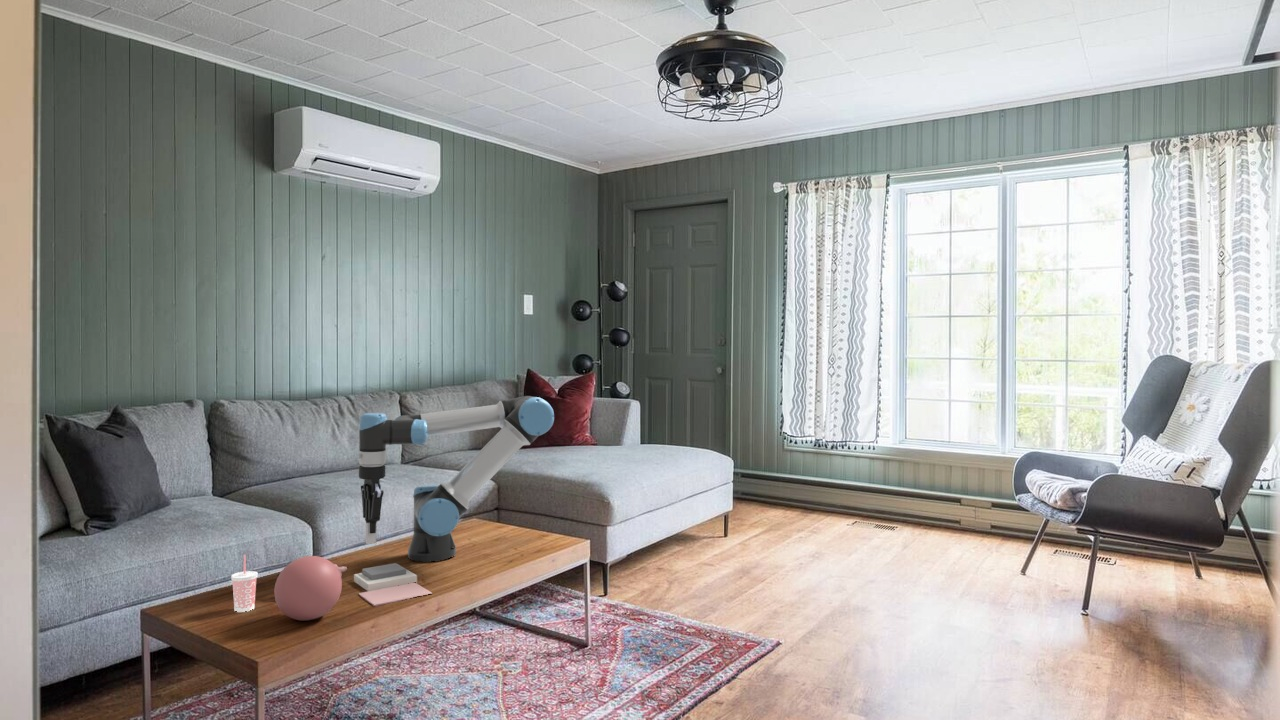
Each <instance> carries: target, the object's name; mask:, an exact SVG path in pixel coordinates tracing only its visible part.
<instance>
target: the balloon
mask: <svg viewBox="0 0 1280 720" xmlns="http://www.w3.org/2000/svg"><path fill="white" fill-rule="evenodd" d="M347 570H348V568H347V566H338V564H336V563H333V562H332V561H330V560H328V559H327V558H324V557H322V556H318V555H307V556H302V557H299V558H297V559H295V560H292V561H291V562H290V563H288V564H287V565H286V566H285V567H284V568H282V570H281V572H279V573H280V574H279V573H278V574H279V576H277V578H276V581H275V583H276V584H275V583H274V588H273V590H274V591H273V592H274V601H275V603H276V605H277V607H278V609H279V610H280V611H281V612H282V613H283V614H284V615H285V616H286V617H288V618H290V619H293V620H297V621H312V620H316V619H319V618H321V617H323V616H324V615H326V614H328V613H329V612H330V611H331V610H332V609H333V608H334V607H335V605H336V604H337V603H338V600H340V599H339V598H340V596H341V593H342V588H343V587H342V586H343V580H342V575H343V574H342V573H344V572H346V571H347Z"/></svg>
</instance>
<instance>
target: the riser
mask: <svg viewBox="0 0 1280 720" xmlns="http://www.w3.org/2000/svg"><path fill="white" fill-rule="evenodd" d="M405 569H406V574H405V575H399V576H394V577H389V578H383V579H378V580H370V579H369V578H367V577H366V576H364V575H363V574H362V572H359V573H355V574H354V573H353V582H354V583H355V584H357V585H358V586H360V587H361V588H363V589H364V590H365V591H366V592H368V591H373V590H378V589H383V588H389V587H394V586H398V585H404V584H408V583H413V582H416V583H418V574H415V573H414V572H412V571H410V570H408V569H407V568H405Z"/></svg>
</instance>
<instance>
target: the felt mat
mask: <svg viewBox="0 0 1280 720" xmlns="http://www.w3.org/2000/svg"><path fill="white" fill-rule="evenodd" d="M428 594H432V595H433V592H431V591H430V590H428V589H427V588H424V586H421V585H420V584H419V583H418V582H416V583H409V584H404V585H399V586H394V587H389V588H383V589H378V590H373V591H364V592H359V593H358V596H360V598H362V599H364V600H365V601H366V602H367V603H369V604H370V605H372V606H373V607H378V606H382V605H388V604H392V603H397V602H402V600H403V601H406V600H405V599H407V600H411V599H410V598H412V599H414V598H413V597H417V596H422V597H424V596H423V595H427V596H429V595H428ZM417 598H418V597H417Z"/></svg>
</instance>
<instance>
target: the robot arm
mask: <svg viewBox="0 0 1280 720" xmlns="http://www.w3.org/2000/svg"><path fill="white" fill-rule="evenodd" d="M554 422H555V413H554V409H553V407H552V406H551V404H550V403H549V402H548V401H547V400H545V399H543V398H541V397H540V396H539V397H537V396H532V395H523V396H520V397H516V398H509V399H505V400H499V401H498V402H497V403H496V404H490V405H483V406H476V407H467V408H459V409H451V410H445V411H444V410H443V411H436V412H435V411H434V412H429V413H421V414H411V415H407V414H404V415H400V416H398V417H396V418H395V419H388V418H387V415H386V413H381V412H370V413H363V414H361V415H360V419H359V440H358V441H359V442H358V443H359V446H358V447H359V450H358V451H359V454H357V458H358V460H359V461H358V464H359V465H360V466H358V478H359V479H361V480H363V485H360V492H361V503H362V506H361V507H362V517H363V519H364V520H365V544H366V545H372V544H373V545H374V544H377V527H378V526H377V525H378V523H377V522H379V521H381V520H380V519H381V512H382V503H383V496H384V490H383V489H382V490H381V486H382V485H381V481H380V480H381V479H384V478H385V477H386V465H385V464H386V463H387V458H386V457H387V448H386V446H388V445H389V446H393V445H414V446H415V445H424V444H426V443H427V440H428V437H435V436H442V435H450V434H457V433H464V432H472V431H478V430H479V431H481V430H485V429H487V430H488V429H493V428H500V430H499V431H498V432H497V433H496V434H495V435H493V437H492V438H491V439H490V440H489V441H488V442H487V443H486V444H485V445H484V446H483V447H482V448H481V449H480V450H479V451H478V453H477V452H476V454H475V456H473V457H472V458H471V459H470V461H469V462H467V464H465V466H463V467H462V469H461V470H460V471H458V472H457V474H456V475H455V476H454V477H453V478H452V479H451V480H450V481H449V482H442V483H441V482H440V484H439V485H438V484H436V485H420V486H416V487H415V488H414V490H413V496H412V498H413V534H412V537H411V540H410V543H409V546H408V551H407V558H409V560H410V559H411V560H410V561H413V560H415V561H414V562H418V561H423V562H422V563H431V561H435V562H440V561H439V560H442V561H445V560H444V559H447V558H450V557H452V556H454V555H455V554H456V555H457V548H456V544H455V541H454V538H453V535H452V532H453V531H454V529H455V528H456V527H457V525H458V523H459V520H460V518H461V517H462V516H463V515H464V514H465V513H466V512H467V511H468V510H469V502H470V501H471V500H472V499H473V498H474V497H475V496H476V495H477V494H478V493H479V491H480V490H482V488H483V487H484V486H486V484H487V483H488V482H489V481H490V480H491V479H492V478H493V477H494V476H495V475H496V474H497V473H498V472H499V471H500V470H501V469H502V467H503V466H504V465H506V464H507V462H509V460H511V458H513V456H515V454H516V453H517V452H518V451H519V450H520V449H521V448H522V447H523V446H530V445H531V444H532V443H534V441H535V440H536V439H538V437H539V436H542V435H544V434H546V433H547V432H549V430H551V428H552V427H553V425H554ZM456 555H455V556H456ZM455 556H454V557H455ZM450 559H451V558H450ZM447 560H448V559H447Z"/></svg>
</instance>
